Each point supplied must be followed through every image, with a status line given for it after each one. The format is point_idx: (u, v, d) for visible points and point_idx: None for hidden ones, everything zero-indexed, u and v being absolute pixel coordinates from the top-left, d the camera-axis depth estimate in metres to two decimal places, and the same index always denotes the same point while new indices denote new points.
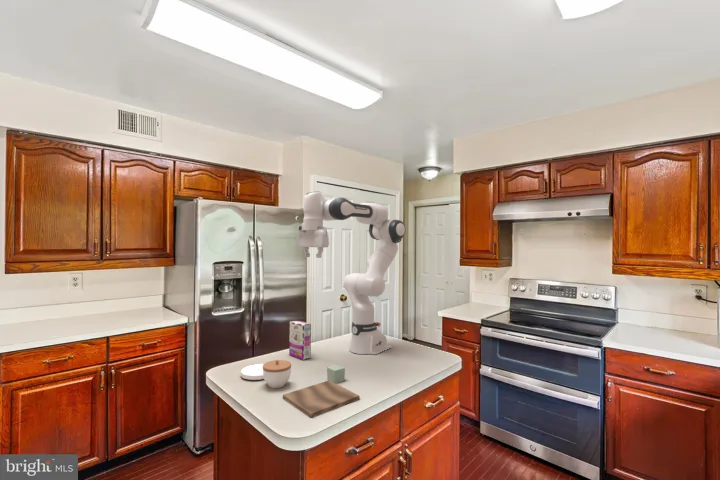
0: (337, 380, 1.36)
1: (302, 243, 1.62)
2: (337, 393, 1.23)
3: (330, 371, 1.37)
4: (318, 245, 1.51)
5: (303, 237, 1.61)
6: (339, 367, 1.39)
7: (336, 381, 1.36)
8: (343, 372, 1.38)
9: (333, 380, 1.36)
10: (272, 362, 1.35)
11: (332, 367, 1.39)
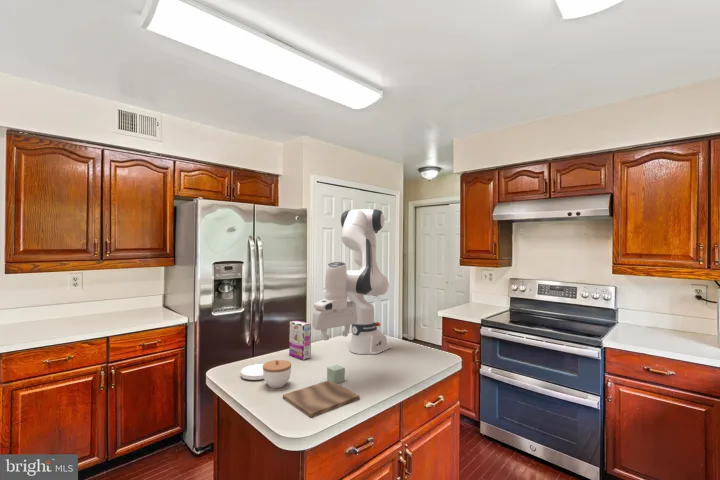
0: (337, 380, 1.36)
1: (325, 324, 1.33)
2: (337, 393, 1.23)
3: (330, 371, 1.37)
4: (352, 322, 1.42)
5: (326, 317, 1.34)
6: (339, 367, 1.39)
7: (336, 381, 1.36)
8: (343, 372, 1.38)
9: (333, 380, 1.36)
10: (272, 363, 1.35)
11: (332, 367, 1.39)
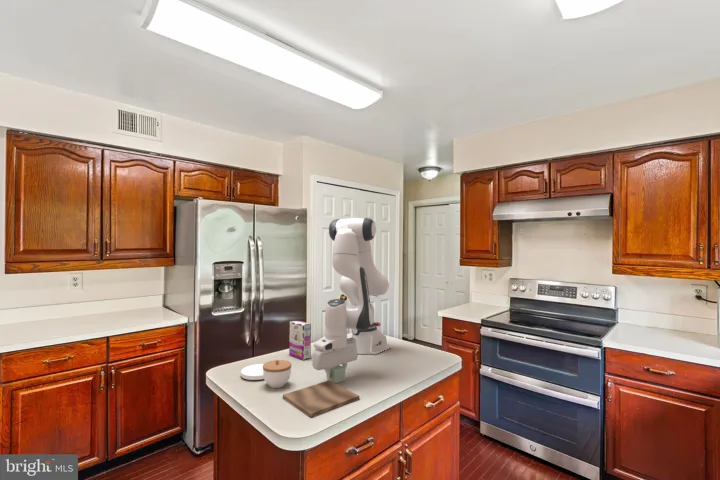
0: (337, 379, 1.36)
1: (325, 364, 1.33)
2: (337, 393, 1.23)
3: (330, 370, 1.37)
4: (352, 359, 1.42)
5: (326, 356, 1.34)
6: (339, 367, 1.39)
7: (336, 381, 1.36)
8: (343, 372, 1.38)
9: (333, 380, 1.36)
10: (272, 362, 1.35)
11: (332, 367, 1.39)
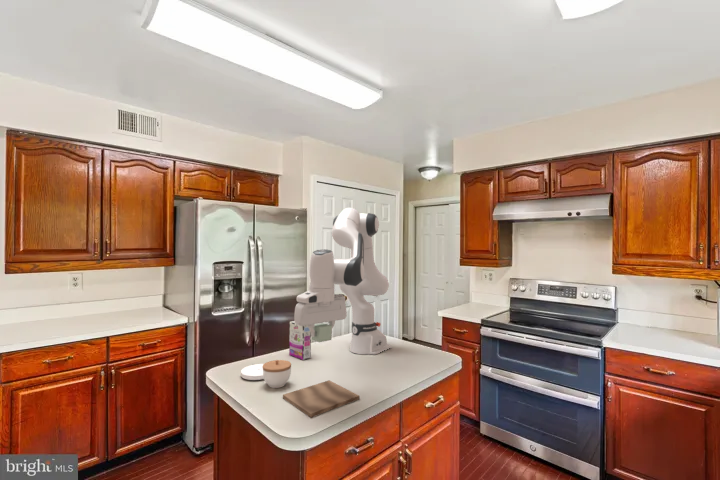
0: (323, 338, 1.20)
1: (308, 319, 1.17)
2: (337, 393, 1.23)
3: (315, 328, 1.21)
4: (340, 317, 1.26)
5: (310, 311, 1.18)
6: (325, 325, 1.23)
7: (321, 339, 1.19)
8: (330, 330, 1.22)
9: (318, 338, 1.19)
10: (272, 362, 1.35)
11: (317, 325, 1.23)
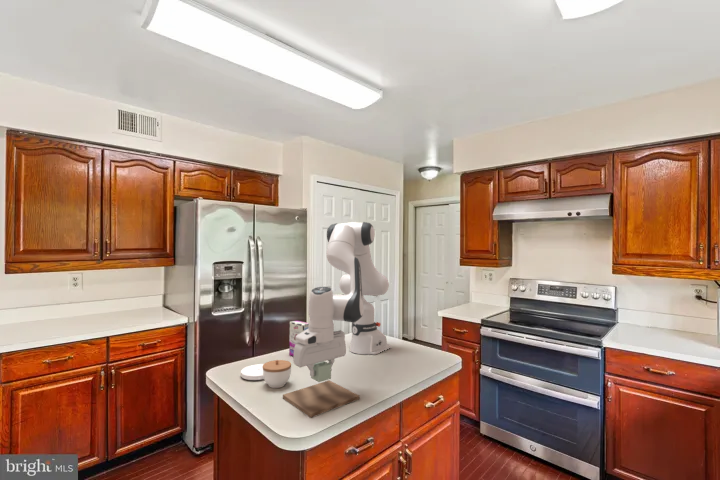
0: (322, 377, 1.19)
1: (308, 360, 1.16)
2: (337, 393, 1.23)
3: (314, 367, 1.20)
4: (340, 355, 1.25)
5: (309, 351, 1.17)
6: (325, 363, 1.22)
7: (321, 379, 1.19)
8: (329, 369, 1.21)
9: (317, 378, 1.19)
10: (272, 362, 1.35)
11: (317, 363, 1.22)
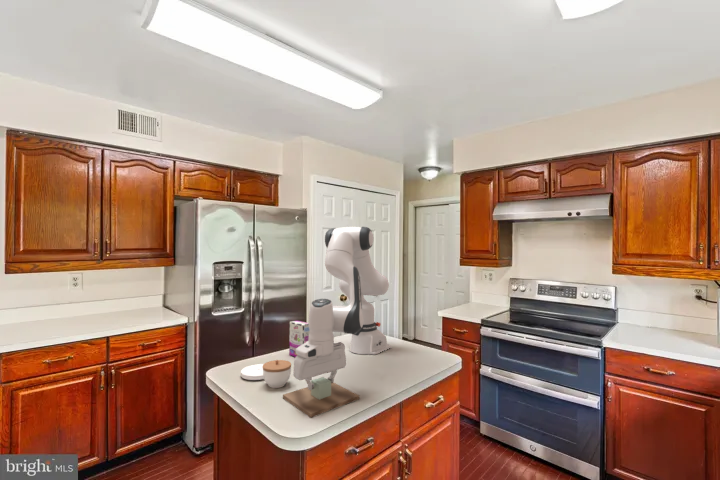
0: (322, 395, 1.19)
1: (308, 373, 1.16)
2: (337, 393, 1.23)
3: (314, 384, 1.20)
4: (340, 367, 1.25)
5: (309, 364, 1.17)
6: (325, 380, 1.22)
7: (321, 396, 1.19)
8: (329, 386, 1.21)
9: (318, 395, 1.19)
10: (272, 362, 1.35)
11: (317, 380, 1.22)
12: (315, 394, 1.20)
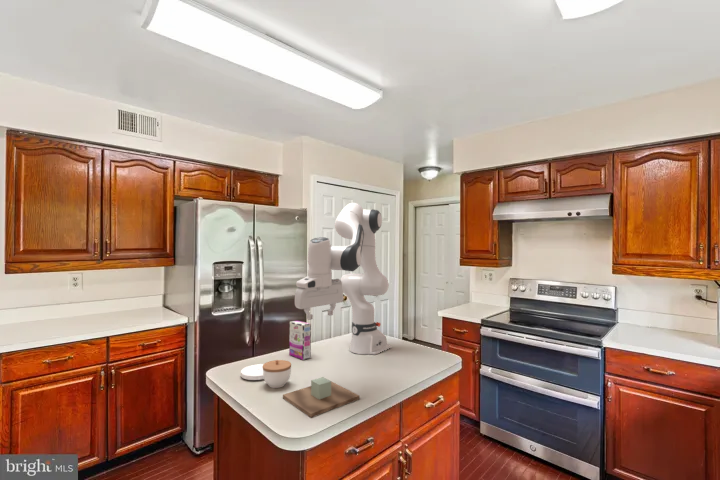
0: (322, 395, 1.19)
1: (308, 303, 1.26)
2: (337, 393, 1.23)
3: (314, 384, 1.20)
4: (337, 300, 1.35)
5: (309, 295, 1.26)
6: (325, 380, 1.22)
7: (321, 396, 1.19)
8: (329, 386, 1.21)
9: (318, 395, 1.19)
10: (272, 362, 1.35)
11: (317, 380, 1.22)
12: (315, 394, 1.20)
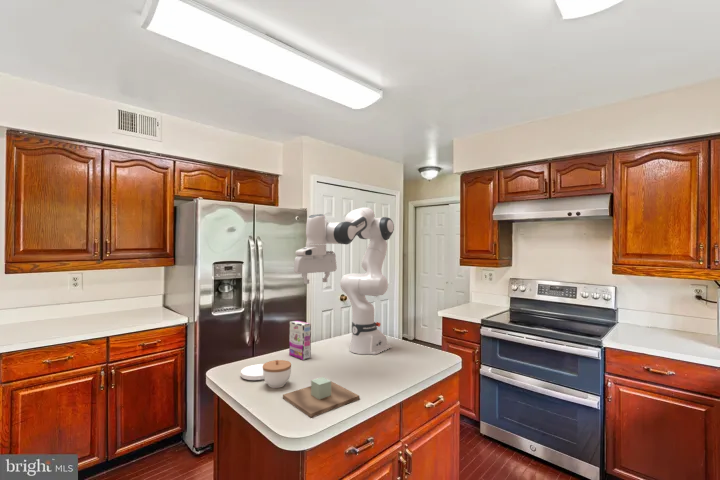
0: (322, 395, 1.19)
1: (305, 268, 1.46)
2: (337, 393, 1.23)
3: (314, 384, 1.20)
4: (331, 269, 1.55)
5: (306, 262, 1.47)
6: (325, 380, 1.22)
7: (321, 396, 1.19)
8: (329, 386, 1.21)
9: (318, 395, 1.19)
10: (272, 362, 1.35)
11: (317, 380, 1.22)
12: (315, 394, 1.20)
